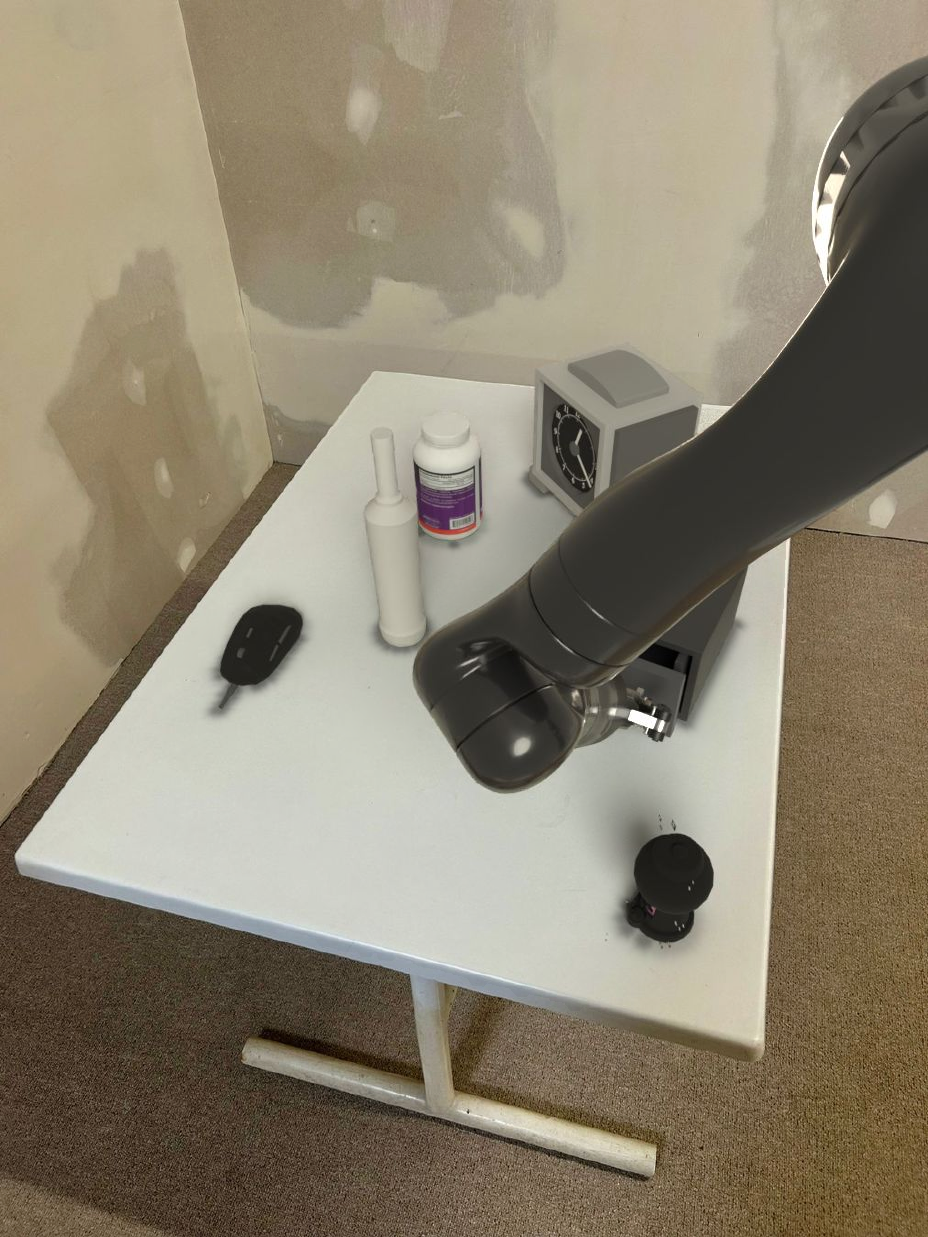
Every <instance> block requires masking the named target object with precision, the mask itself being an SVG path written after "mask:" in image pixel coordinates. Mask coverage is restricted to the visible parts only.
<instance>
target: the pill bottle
mask: <svg viewBox="0 0 928 1237" xmlns="http://www.w3.org/2000/svg"><path fill="white" fill-rule="evenodd" d="M481 446H482V445H481V443H480V441H479V439H478V438H477V437H476V436H475V435H474V434H472V433H471V423H470V420H469V418H468V417H467V416H465V415H464V414H462V413H459V412H455V411H438V412H434V413H432V414H430V415H428V416H426V417H425V418H424V419H423V421H422V423H421V435H420V436H419V437H418V438H417V440H416V441H415V443H414V444H413V448H412V463H413V473H414V474H413V475H414V486H415V497H416V507H417V518H418V525H419V526H420V528H421V530H422V532H424V533H425V534H426V535H428V536H430V537H431V538H435V539H437V540H443V541H456V540H457V541H458V540H462V539H465V538H467V537H470V536H471V535H472V534H474V533H475V532H476V531H477V530H478V529H479V528H480V526H481V524H482V522H483V517H484V516H483V474H482V473H483V472H482V471H483V470H482V467H483V466H482V447H481Z"/></svg>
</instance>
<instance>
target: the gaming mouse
mask: <svg viewBox="0 0 928 1237" xmlns="http://www.w3.org/2000/svg"><path fill="white" fill-rule="evenodd" d="M303 625H304V622H303V617H302V615H301V613H300V612H299V611H298V610H297V609H296V608H294V607H292V606H287V605H282V604H268V603H267V604H266V603H265V604H259V605H256V606H252V607H250V608H249V609H248V610H247V611H245V612H244V613H243V614H242V615H241V616H240V618H239V620H238V621H237V623H236V624H235V625H234V628H233V630H232V633H231V634H230V637H229V639H228V641H227V643H226V646H225V648H224V652H223V654H222V657H221V660H220V666H219V667H220V668H219V672H220V673H219V674H220V676H221V677H222V678H223V679H225V680H226V682H228V683H229V684H230V686H229V687H228V689H227V690H226V694H225V696H224V697H223V699H222V701H221V703H220V704H219V705H218V708H219V709H223V708H224V706H225V705H226V703H227V701H229V699H230V697H231V696H233V694H234V693H235V691H236V688H238V687H237V686H239V687H240V686H241V687H244V686H254V685H259V683H262V682H263V681H265V680H266V679H267V678H269V677H270V676H271V674H273V672H274V671H275V670H276V668H277V667H278V666H279V665H280V663H281V662H282V660H283V659H284V658H285V656H286V655H287V654H288V653H289V651H290V650H291V649H292V648H293V646H294V645H295V643H296V642H297V640H298V639H299V638H300V636H301V632H302V628H303V627H304V626H303Z"/></svg>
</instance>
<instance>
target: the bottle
mask: <svg viewBox="0 0 928 1237" xmlns="http://www.w3.org/2000/svg"><path fill="white" fill-rule="evenodd" d="M369 435H370V445H371V446H370V447H371V452H372V456H373V466H374V473H375V481H376V489H377V491H376V492H375V493H374V497H373V498H372V499H370V500H369V501H368V503H366V504H365V505H364V509H363V511H362V514H363V519H364V525H365V526H364V527H365V532H366V537H367V545H368V549H369V557H370V562H371V569H372V575H373V580H374V588H375V593H376V599H377V605H378V612H379V618H378V627H379V631H380V634H381V636H382V639H383V640H384V641H385V642H386V643H387V644H388V645H391V646H394V647H395V648H396V647H397V648H407V647H411V646H415V645H416V644H418V643H419V642H421V641H422V639H423V638H424V637H425V635H426V629H427V615H426V614H425V612H424V603H423V601H424V600H423V587H422V584H423V583H422V568H421V552H420V536H419V521H418V511H417V504H416V502H415V501H414V500H412V499H411V498H410V497H408V496H406V495H404V494H403V493H402V491H401V490H400V489H399V483H398V473H397V464H396V456H395V455H396V453H395V451H396V450H395V448H396V447H395V440H394V438H395V437H394V432H393V430H392V429H391V428H390V427H387V426H379V427H375V428H373V429H372V430H371V431H370V433H369Z"/></svg>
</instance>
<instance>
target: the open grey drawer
mask: <svg viewBox="0 0 928 1237" xmlns="http://www.w3.org/2000/svg"><path fill="white" fill-rule="evenodd" d="M692 657H693V656H690V655H687V654H684V653H681V652H678V651H675V650H672V649H669V648H667V647H664V646H661V645H658V644H655V643H653V644H652V645H651V646H650V647H649V648H647V649H646V650H645V651H644V652H643V653H642V654H641V655H639V656H638V657H637V658H636V659H635V660H634V661H633V662H632V663H630V664H629V665H628V666H627V667H626V668H625V669H623V670H622V671H621V672H620V674H621V676H622V678H623V680H624V683H625V686H626V687H627V688H630V689H633V690H635V691H637V692H640V694H641V696H645V697H647V698H650V699H651V701H652V702H651V704H653V705H655V706H656V705H657V704H660V705H661V703H662V704H665V705H667V707H668V708H670V709H671V711H672V713H673V714H672V717H671V720H670V722H669V725H668V728H667V731H666V733H665V736H664V737H666V738H669V739H670V738H671V737H672V735H673V733H674V731H675V727H676V724H677V719H678V718H677V714H678V710H679V705H680V701H681V697H682V695H683V693H684V691H685V689H686V685H687V680H688V676H689V671H690V666H691V662H692ZM642 728H643V729H644V728H645V726H644V725H643V727H642Z"/></svg>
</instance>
